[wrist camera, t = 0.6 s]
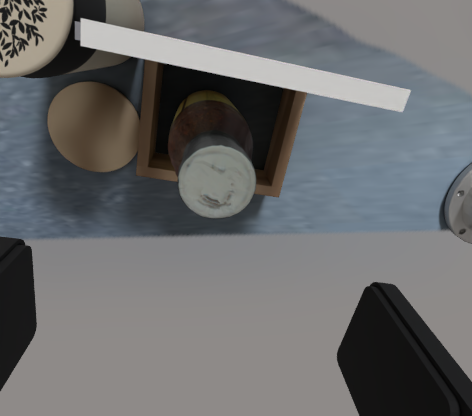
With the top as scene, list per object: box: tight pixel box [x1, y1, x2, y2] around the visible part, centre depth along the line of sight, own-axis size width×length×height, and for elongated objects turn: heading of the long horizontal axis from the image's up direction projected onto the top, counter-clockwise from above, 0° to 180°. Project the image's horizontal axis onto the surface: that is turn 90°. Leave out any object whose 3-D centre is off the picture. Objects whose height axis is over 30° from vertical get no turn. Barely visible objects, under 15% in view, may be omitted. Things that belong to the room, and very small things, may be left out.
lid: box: [75, 18, 411, 112], centre depth 23 cm, size 15×1×20 cm, turn 79°
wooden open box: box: [136, 59, 307, 197], centre depth 32 cm, size 14×12×7 cm
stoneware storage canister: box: [0, 0, 144, 78], centre depth 22 cm, size 8×8×18 cm
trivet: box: [47, 81, 140, 172], centre depth 34 cm, size 9×9×1 cm
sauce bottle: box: [168, 90, 256, 219], centre depth 26 cm, size 6×6×20 cm
